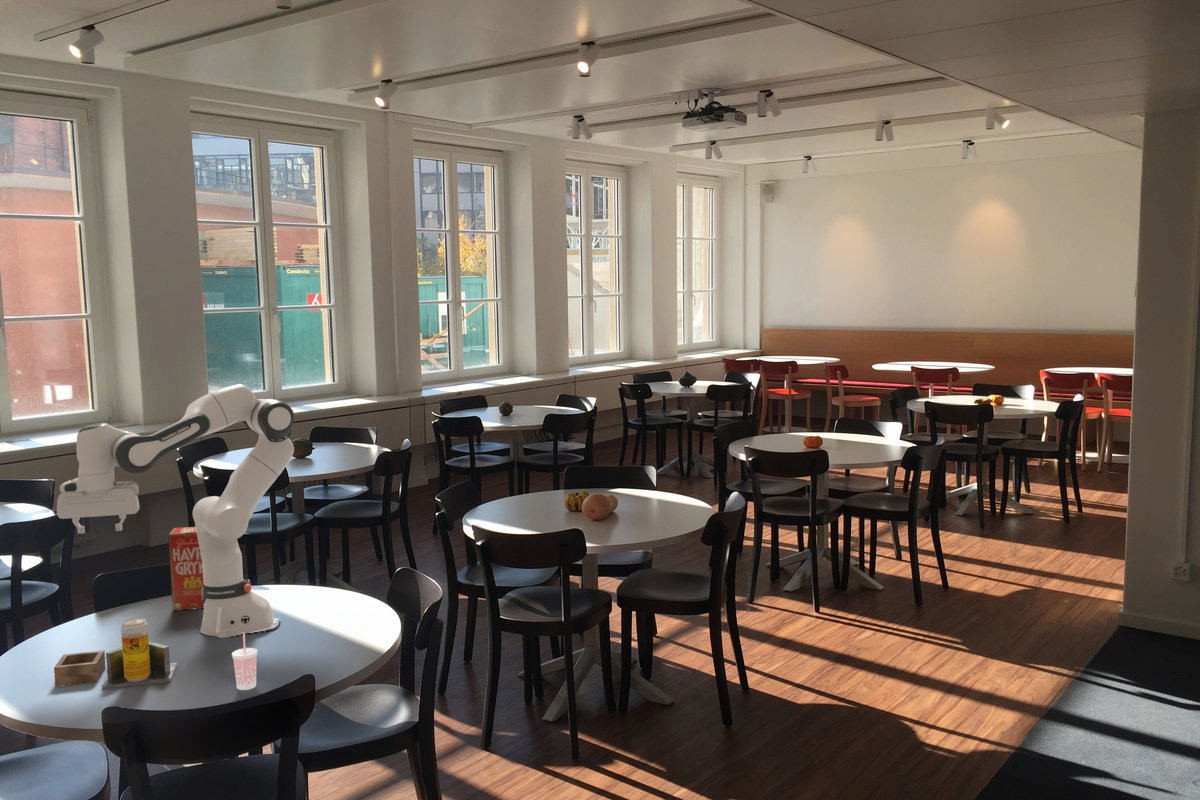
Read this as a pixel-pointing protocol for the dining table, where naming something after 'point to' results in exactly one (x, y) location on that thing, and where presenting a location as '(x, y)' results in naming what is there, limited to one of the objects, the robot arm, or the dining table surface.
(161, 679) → the V-block
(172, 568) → the food packaging
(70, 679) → the walnut sleeve
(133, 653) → the beer can
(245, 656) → the beverage cup
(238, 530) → the robot arm
